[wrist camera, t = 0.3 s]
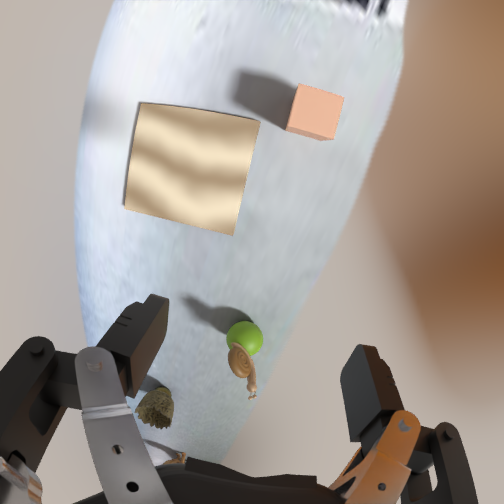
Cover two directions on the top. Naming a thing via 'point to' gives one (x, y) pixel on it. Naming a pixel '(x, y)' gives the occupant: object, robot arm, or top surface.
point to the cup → (156, 408)
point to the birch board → (190, 165)
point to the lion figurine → (176, 459)
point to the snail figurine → (244, 351)
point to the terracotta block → (314, 113)
